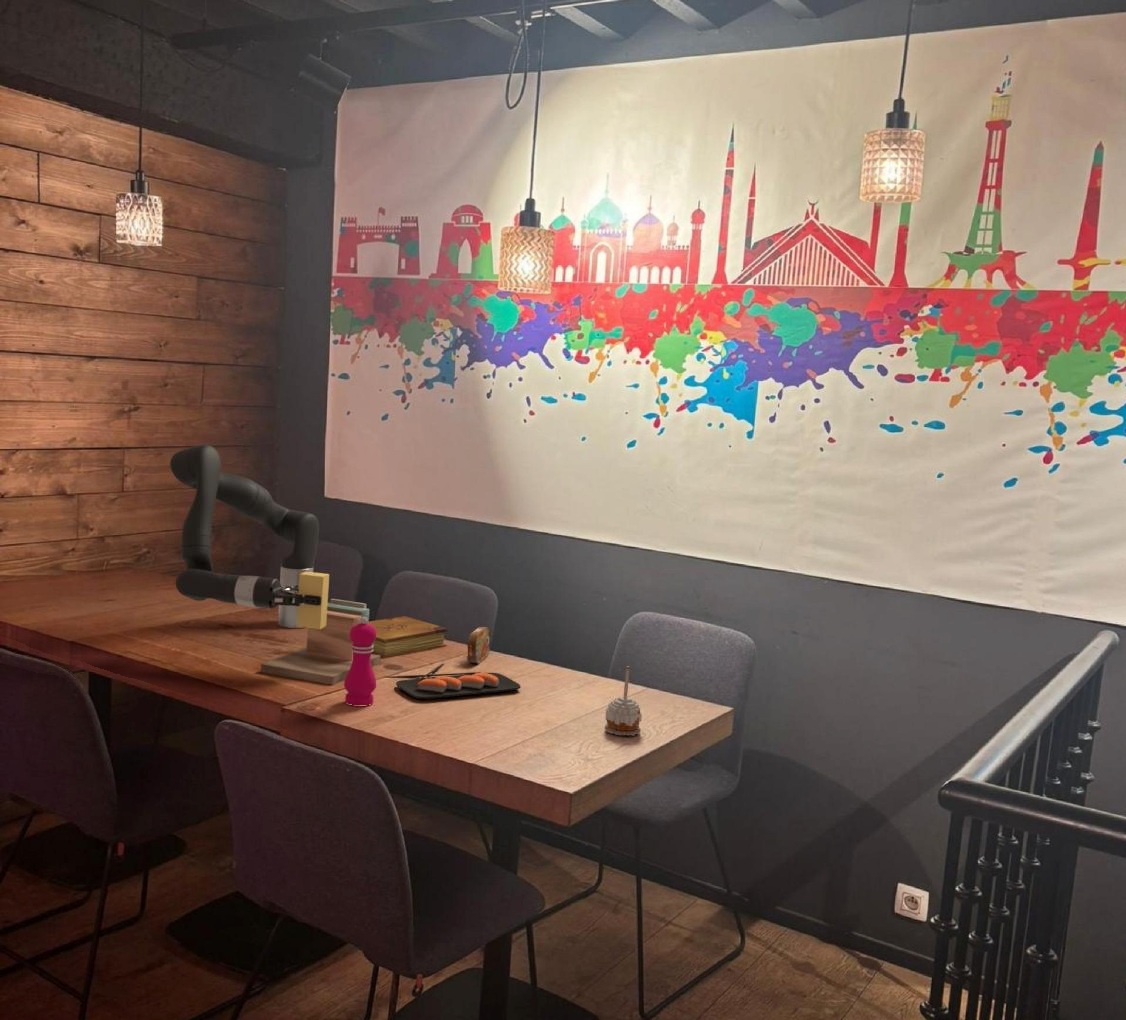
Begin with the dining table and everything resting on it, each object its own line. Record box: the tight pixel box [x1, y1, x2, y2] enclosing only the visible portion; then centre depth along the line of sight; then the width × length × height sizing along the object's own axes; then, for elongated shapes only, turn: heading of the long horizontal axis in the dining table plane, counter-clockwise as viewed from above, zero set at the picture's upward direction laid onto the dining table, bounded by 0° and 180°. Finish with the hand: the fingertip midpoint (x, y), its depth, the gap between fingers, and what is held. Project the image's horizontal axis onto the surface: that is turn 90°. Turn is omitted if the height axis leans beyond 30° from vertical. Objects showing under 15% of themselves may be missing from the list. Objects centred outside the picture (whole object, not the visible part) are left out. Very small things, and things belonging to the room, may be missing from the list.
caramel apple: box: [604, 665, 642, 736], centre depth 240 cm, size 8×8×15 cm
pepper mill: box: [343, 617, 377, 706], centre depth 246 cm, size 7×7×20 cm
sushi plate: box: [385, 663, 522, 699], centre depth 270 cm, size 29×30×4 cm
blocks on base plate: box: [260, 598, 382, 686], centre depth 273 cm, size 24×20×15 cm
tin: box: [467, 626, 492, 665], centre depth 292 cm, size 15×3×8 cm, turn 168°
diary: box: [369, 615, 449, 659], centre depth 301 cm, size 23×19×6 cm
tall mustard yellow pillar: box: [297, 571, 330, 629], centre depth 266 cm, size 4×6×13 cm, turn 82°
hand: (323, 599), depth 265 cm, fingers closed on tall mustard yellow pillar, 4 cm apart
